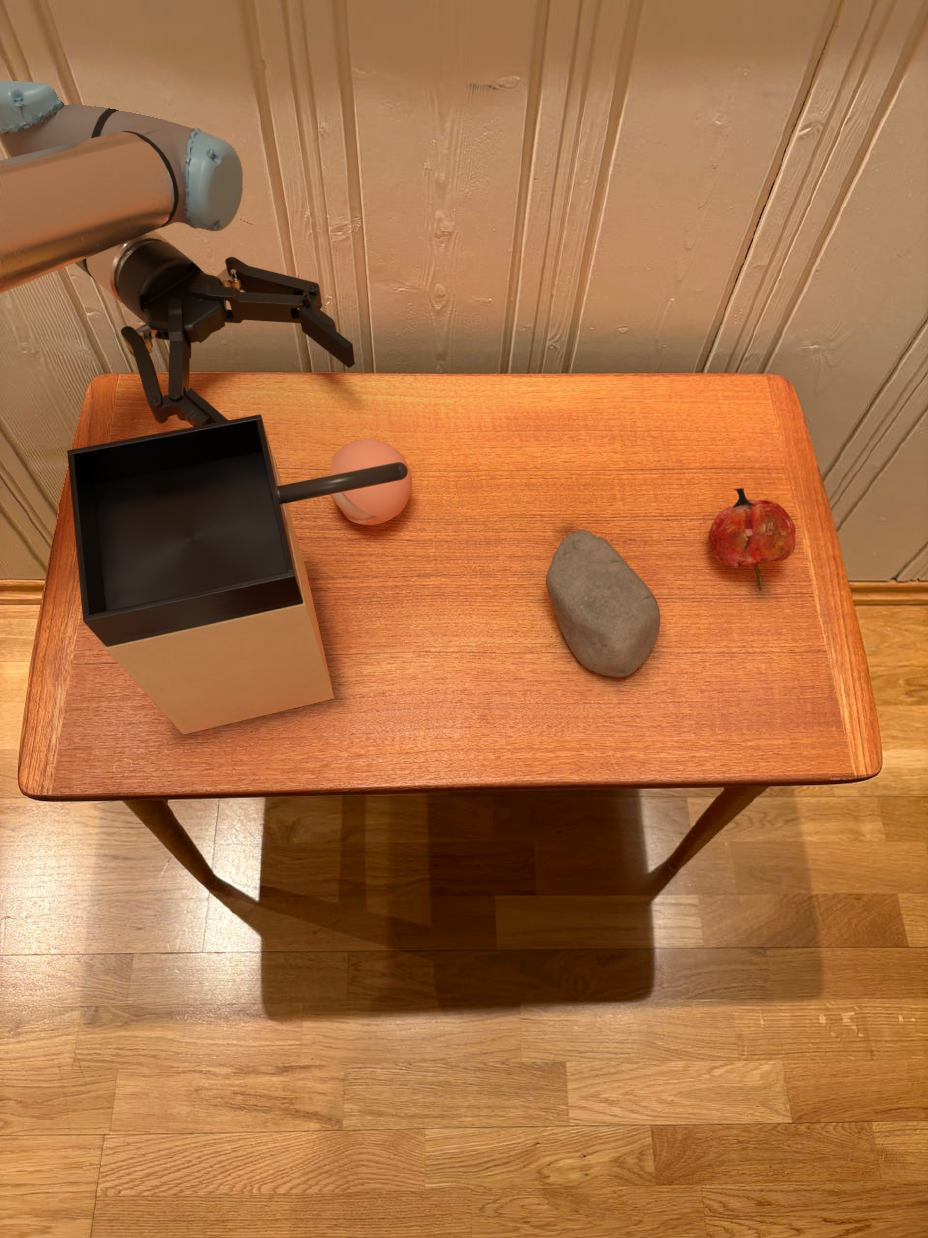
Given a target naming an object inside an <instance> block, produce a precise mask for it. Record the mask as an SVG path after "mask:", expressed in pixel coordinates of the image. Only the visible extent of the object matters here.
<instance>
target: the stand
mask: <svg viewBox="0 0 928 1238" xmlns="http://www.w3.org/2000/svg"><path fill="white" fill-rule="evenodd" d="M270 448H271V447H270ZM271 452H272V457H273V462H274V466H275V471H276V476H277V480H278V485H279V486H281V485H283V481H282V478H281V475H280V471H279V468H278V464H277V460H276V457H275V454H274V450H273V447H272V448H271ZM283 509H284V513H285V518H286V523H287V527H288V532H289V537H290V541H291V546H292V551H293V555H294V560H295V565H296V570H297V574H298V579H299V584H300V588H301V593H302V598H303V602H304V603H303V604H299V605H294V606H290V607H285V608H281V609H276V610H272V611H267V612H263V613H258V614H254V615H249V616H245V617H240V618H236V619H231V620H227V621H222V622H217V623H213V624H208V625H204V626H199V627H195V628H190V629H186V630H181V631H177V632H172V633H168V634H163V635H159V636H154V637H150V638H145V639H141V640H136V641H131V642H127V643H122V644H118V645H113V646H109V647H106V646H105V645H104V649H105V651H106V652H107V653H108V654H109V655H110V656H111V657H112V658H113V659H114V660H115V662H116V663H117V664H118V665H119V666H120V668H122V670H123V671H124V672H125V673H126V674H128V676H129V677H130V678H131V679H132V680H133V681H134V682H135V684H136V685H137V686H138V687H139V688H140V690H142V691H143V692H144V694H145V695H146V697H148V698H149V699H150V700H151V701H152V703H154V705H156V707H157V708H158V709H159V710H160V711H161V712H162V713H163V714H164V715H165V716H166V718H167V719H168V720H169V721H170V722H171V723H172V724H173V726H175V727H176V729H177V730H178V731H179V732H180V733H181V734H182V735H187V734H192V733H197V732H201V731H204V730H209V729H214V728H218V727H221V726H225V725H230V724H234V723H239V722H243V721H246V720H251V719H255V718H260V717H263V716H267V715H272V714H276V713H281V712H284V711H289V710H293V709H297V708H301V707H305V706H309V705H313V704H318V703H322V702H326V701H330V700H334V699H335V695H334V690H333V686H332V681H331V676H330V672H329V667H328V663H327V660H326V659H327V658H326V654H325V649H324V645H323V640H322V636H321V632H320V627H319V623H318V617H317V613H316V609H315V603H314V598H313V594H312V590H311V585H310V581H309V576H308V571H307V567H306V564H305V561H304V557H303V553H302V550H301V546H300V543H299V538H298V536H297V533H296V529H295V528H296V527H295V525H294V522H293V518H292V514H291V511H290V507H289V503H285V504H283Z"/></svg>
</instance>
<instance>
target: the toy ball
mask: <svg viewBox="0 0 928 1238" xmlns="http://www.w3.org/2000/svg"><path fill="white" fill-rule="evenodd" d="M396 462H401V463H404V464H405V465H406V466H407V469H408V474H407V476H406V477H405V478H404V479H403V480H399V481H394V482H389V483H384V484H379V485H374V486H369V487H364V488H359V489H354V490H349V491H345V492H340V493H335V494H330V497H331V499H332V501H333V502H334V503H335V504H336V505H337V507H338V508H339V509H340V510H341V511H342V513H343V515H344V516H345V518H346V519H348V521H350V522H352V523H355V524H359V525H363V526H374V525H375V526H376V525H380V524H383V523H386V522H388V521H390V520H392V519H393V518H395V517H397V516H399V515H400V514H401V512H403V510H404V509H405V507H406V506H407V504H408V502H409V500H410V497H411V493H412V488H413V479H412V473H411V472H412V471H411V468H410V466H409V464H408V462H407V460H406V459H405V456H404V455H403V454H402V453H401V452H400V451H399V450H398V449H397V448H396V447H394V446H393V445H391V444H390V443H388V442H386V441H384V440H380V439H377V438H360V439H359V438H358V439H355V440H352V441H350V442H348V443H346V444H345V445H343V446H342V447H340V448H339V449H338V450H337V451H336V452H335V453H334V454H333V456H332V459H331V462H330V466H331V471H330V475H329V476H331V475H336V474H341V473H346V472H351V471H356V470H361V469H366V468H371V467H376V466H381V465H386V464H391V463H396Z"/></svg>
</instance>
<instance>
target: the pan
mask: <svg viewBox="0 0 928 1238" xmlns="http://www.w3.org/2000/svg"><path fill="white" fill-rule="evenodd" d="M66 453H67V454H66V455H67V465H68V474H69V484H70V495H71V505H72V507H71V508H72V516H73V527H74V537H75V547H76V548H75V549H76V559H77V569H78V579H79V580H78V581H79V591H80V600H81V601H80V602H81V611H82V622H83V623H84V624H85V626H86V627H88V629H89V630H90V631H91V632H92V633H93V634H94V636H96V638H97V639H98V640H99V641H100V642H101V643H102V644H103V645H104V647H105V646H106V647H109V646H113V645H118V644H122V643H127V642H131V641H136V640H141V639H145V638H150V637H154V636H159V635H163V634H168V633H172V632H177V631H181V630H186V629H190V628H195V627H199V626H204V625H208V624H213V623H217V622H222V621H227V620H231V619H236V618H240V617H245V616H249V615H254V614H258V613H263V612H267V611H272V610H276V609H281V608H285V607H290V606H294V605H299V604H303V603H304V602H303V598H302V593H301V588H300V584H299V579H298V574H297V570H296V565H295V560H294V555H293V551H292V546H291V541H290V537H289V532H288V527H287V523H286V518H285V513H284V509H283V504H285V503H288V504H289V503H290V504H291V503H295V502H299V501H300V502H301V501H305V500H310V499H315V498H319V497H324V496H329V495H330V494H335V493H340V492H345V491H349V490H354V489H359V488H364V487H369V486H374V485H379V484H384V483H389V482H394V481H399V480H403V479H404V478H405V477H406V476H407V474H408V469H407V466H406V465H405V464H404V463H401V462H396V463H391V464H386V465H381V466H376V467H371V468H366V469H361V470H356V471H351V472H346V473H341V474H336V475H331V476H330V475H327V476H326V475H325V476H321V477H316V478H311V479H307V480H306V479H305V480H301V481H297V482H291V483H286V484H282V485H281V486H279V485H278V480H277V476H276V471H275V466H274V462H273V457H272V452H271V445H270V441H269V438H268V433H267V431H266V427H265V424H264V420H263V417H262V414H254V415H249V416H244V417H238V418H233V419H228V420H227V421H222V422H217V423H211V424H206V425H201V426H195V427H194V426H190V427H185V428H180V429H175V430H169V431H164V432H159V433H152V434H147V435H141V436H137V437H132V438H126V439H120V440H116V441H110V442H105V443H100V444H99V443H98V444H94V445H89V446H83V447H77V448H71V449H67V450H66ZM330 496H331V495H330Z"/></svg>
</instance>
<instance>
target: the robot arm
mask: <svg viewBox="0 0 928 1238" xmlns="http://www.w3.org/2000/svg"><path fill="white" fill-rule="evenodd" d="M58 98H59V97H57V94H56V92H55V90H54V89H52V88H51V87H49V86H48V85H45V84H44V83H42V84H41V83H33V82H28V81H27V82H25V81H24V82H22V81H20V82H19V81H9V82H8V81H6V82H5V81H0V140H1V142H2V143H3V145H4V147H5V149H6V151H7V153H8V155H9V154H10V155H9V157H8V158H4V159H0V295H1V294H3V293H5V292H8V291H10V290H13V289H15V288H17V287H20V286H23V285H25V284H27V283H30V282H32V281H35V280H37V279H40V278H42V277H44V276H47V275H49V274H52V273H54V272H56V271H60V270H61V269H64V268H66V267H69V266H71V265H74V264H75V265H76V266H77V267H79V269H81V270H82V271H83V272H84V273H86V274H87V275H88V277H90V278H92V279H93V280H94V281H96V282H97V284H98V285H100V286H101V287H102V288H103V289H104V290H105V291H107V292H108V293H109V294H110V295H112V296H113V297H114V298H115V299H116V300H117V301H119V302H120V303H121V304H123V305H124V306H125V307H126V309H127V310H128V311H130V312H131V313H132V314H134V316H136V317H137V318H138V319H139V320H141V321H142V322H144V324H143V325H141V326H139V327H137V328H134V327H132V326H130V325H127V326H123V327H122V328H121V329H120V334H121V336H122V338H123V340H124V343H125V345H126V347H127V349H128V351H129V353H130V354H131V356H133V358H134V359H135V363H136V367H137V370H138V374H139V377H140V381H141V385H142V389H143V391H144V396H145V398H146V403H147V405H148V406H149V409H150V411H151V413H152V415H153V417H154V419H155V422H157V423H158V424H163V423H166V422H168V421H169V419H170V417H172V416H176V417H177V419H178V420H179V421H181V422H188V423H189V424H190V425H191V427H195V426H201V425H206V424H211V423H217V422H222V421H227V420H229V419H227V417H226V416H224V415H223V414H222V413H221V412H220V411H218V410H217V409H216V408H215V407H214V406H213V405H211V403H209V402H208V401H207V400H206V399H204V398H203V396H201V395H200V394H199V393H198V392H196V391H195V390H194V389H193V388H192V387H191V388H190V366H191V365H190V363H191V362H190V361H191V360H190V359H191V358H192V344H194V343H195V344H196V343H200V344H202V343H203V342H204V341H206V340H207V339H208V338H209V337H210V336H211V335H212V334H213V333H215V332H218V331H220V330H221V329H223V328H225V327H226V323H227V324H242V323H243V321H253V322H254V321H255V322H273V323H285V324H300V327H301V332H302V333H304V334H305V335H306V336H308V337H309V338H310V339H311V340H312V341H313V342H315V343H316V344H318V345H319V346H320V347H321V348H323V349H324V350H325V351H326V352H328V353H329V354H330V355H331V356H333V357H334V358H335V359H337V361H339V362H340V363H342V364H343V365H344V366H345V367H347V369H351V367H353V366H354V365H355V364H356V362H355V353H354V345H353V343H352V342H351V341H349V340H348V339H347V338H346V337H345V336H343V335H342V334H341V333H339V332H338V331H337V327H336V322H335V320H334V318H332V317H331V316H329V315H328V314H327V313H325V312H324V311H323V310H321V309H322V308H323V302H322V301H323V300H322V293H321V288H320V284H319V283H317V282H314V281H310V280H307V279H303V278H299V277H296V276H291V275H287V274H282V273H279V272H275V271H271V270H268V269H267V270H266V269H263V268H260V267H255V266H251V265H248V264H246V263H245V262H243V261H242V260H240V259H238V258H237V257H234V256H228V257H227V258H226V259H225V260H224V263H225V268H224V269H223V270H222V271H221V272H220V273H218V274H217V275H214V274H209V273H207V272H204V271H203V269H201V268H200V267H199V266H198V265H197V263H195V261H193V260H192V259H191V258H190V257H188V256H187V255H185V254H184V253H183V252H182V251H181V250H179V249H178V248H177V247H175V245H173V244H172V243H170V242H169V241H168V240H167V239H166V238H164V237H163V236H162V235H161V234H160V233H158V232H157V231H156V230H159V229H162V228H165V227H167V226H170V225H172V224H175V223H181V224H183V225H184V224H185V225H187V226H189V227H190V228H192V229H195V230H197V229H201V230H205V231H209V232H221V231H222V230H225V229H227V227H229V226H230V224H231V223H232V222H233V220H234V219H235V218H236V215H237V213H238V211H239V208H240V205H241V201H242V197H243V191H244V190H243V189H244V188H243V187H244V186H243V185H244V184H243V182H244V181H243V180H244V179H243V178H244V172H243V167H242V162H241V159H240V156H239V154H238V152H237V151H236V148H234V147H233V146H232V144H230V143H229V141H226V140H225V139H222V138H220V137H217V136H215V135H213V134H211V133H207V132H205V131H202V130H201V129H200V128H199V127H196V126H195V127H193V128H192V127H191V126H186V125H183V124H180V123H176V122H174V121H169V120H166V119H163V118H160V119H158V118H159V117H156V118H154V117H155V116H153V117H150V116H151V115H150V116H145V115H141V114H136V113H132V112H125V111H119V110H116V109H110V108H104V107H96V106H94V107H92V106H86V105H78V104H72V105H70V104H69V105H64V103H63V102H62V100H59V99H58ZM10 156H11V157H10ZM227 302H228V303H229V305H230V309H228V308H227V307H228V306H227ZM154 338H155V339H157V340H163V341H169V343H168V345H169V346H168V347H169V348H168V385H167V387H168V388H167V394H164V395H163V391H162V389H161V385H160V381H159V378H158V375H157V370H156V367H155V364H154V362H153V359H152V357H151V354H152V352H153V350H152V349H153V346H154V344H153V339H154Z"/></svg>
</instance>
